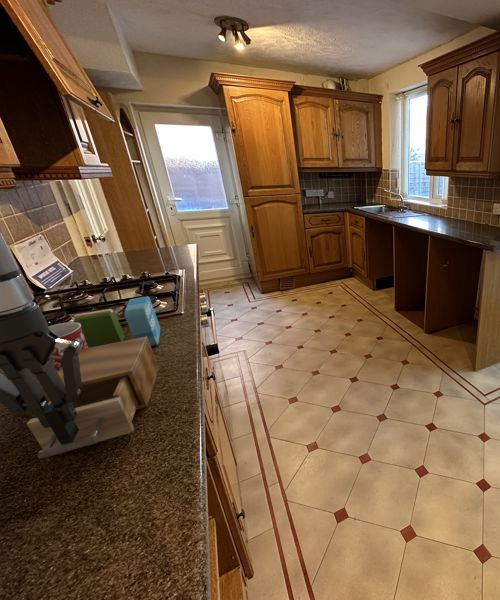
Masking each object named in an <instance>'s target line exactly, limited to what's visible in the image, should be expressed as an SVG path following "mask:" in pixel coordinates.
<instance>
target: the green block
mask: <svg viewBox="0 0 500 600" xmlns="http://www.w3.org/2000/svg"><path fill="white" fill-rule="evenodd" d="M73 317H74V318H73V321H72V322H75V323H80V324H81V329H82V332H83V335H84V337H85V340H86V343H87V346H88V348H91V347H96V346H101V345H106V344H111V343H116V342H121V341H124V340H125V337H126V336H125V333H124V331H123V328H122V326H121V323H120V321H119V319H118V316H117V314H116V311H115V309H112V308H107V309H102V310H95V311H90V312H83V313H77V314H75V315H74V316H73Z"/></svg>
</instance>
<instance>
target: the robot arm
mask: <svg viewBox="0 0 500 600" xmlns="http://www.w3.org/2000/svg"><path fill="white" fill-rule="evenodd" d="M34 300H35V296H34V294H33V292H32V290H31V288H30V287H29V285H28V283H27V281H26V279H25V277H24V276H23V274H22V272H21V270H20V268H19V266H18V264H17V262H16V259H15V258H14V256H13V253H12V252H11V250H10V248H9V246H8V244H7V242H6V240H5V238H4V236H3V234H2V231H0V370H2V372H3V373H2V372H0V404H1V405H2V406H3V407H5V408H6V409H7V410H8V411H10V412H11V413H12V414H13V415H16V416H21V415H23V414H25V413H26V414H28V413H29V414H30V413H31V414H33V415H34V416H36V418H38V420H39V421H40V423H41V425H42V426H43V427H44V428H49V427H51V428H52V430H53V432H54V433H55V435H56V437H57V438H58V440H59V442H60V443H61V444H65V443H68V442H72V441H73V440H74V439H75V437H76V435H77V433H78V431H79V429H78V427H77V425H76V423H75V422H74V419H75V417H76V416H77V412H76V410H75V408H74V406H73V404H72V401H75V400H76V399H77V398H78V396H79V395H80V393H81V392H82V381H81V373H80V364H79V355H78V352H79V349H80V347H81V345H82V341H81V340H79V339H75V340H73V341H67V340H62V339H59V338H58V336H57V335H56V334H55V333H53V332H52V331H51V330H50V329H49V324H48V321H47V319H46V318H45V316H44V314H43V312H42V310H41V308H40V306H39V304H38V303H36V302H33V301H34ZM55 347H56V348H57V349H58V353H59V355H61V356H63V357H62V369H63V376H64V383H65V385H64V384H63V382H62V380H61V378H60V376H59V374H58V373H57V371H56V369H55V367H54V365H53V359H52V357H51V355H52V353H53V351H54V349H55ZM3 374H4V375H3ZM10 380H11V381H10ZM43 390H44V391H45V392H46V394H47V396H48V398H47V396H46V395H45V393H44V391H43ZM48 399H49V400H48ZM49 401H51V403H50V405H49V404H48V403H49Z"/></svg>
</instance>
